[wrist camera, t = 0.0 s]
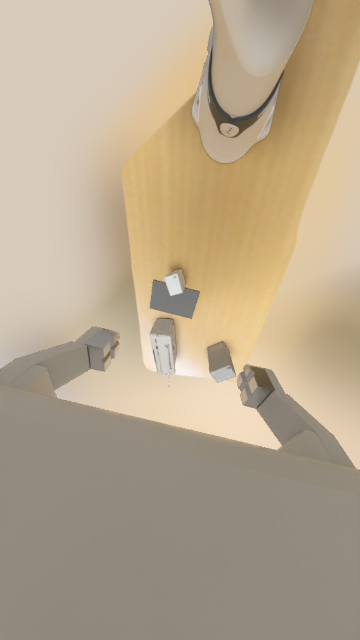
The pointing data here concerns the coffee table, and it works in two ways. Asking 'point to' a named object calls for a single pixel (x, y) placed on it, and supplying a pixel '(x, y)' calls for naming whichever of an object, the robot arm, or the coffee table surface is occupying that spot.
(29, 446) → the robot arm
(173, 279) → the skincare box
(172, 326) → the stereo radio cassette player
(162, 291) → the mat
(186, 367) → the coffee table surface
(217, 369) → the skincare box
